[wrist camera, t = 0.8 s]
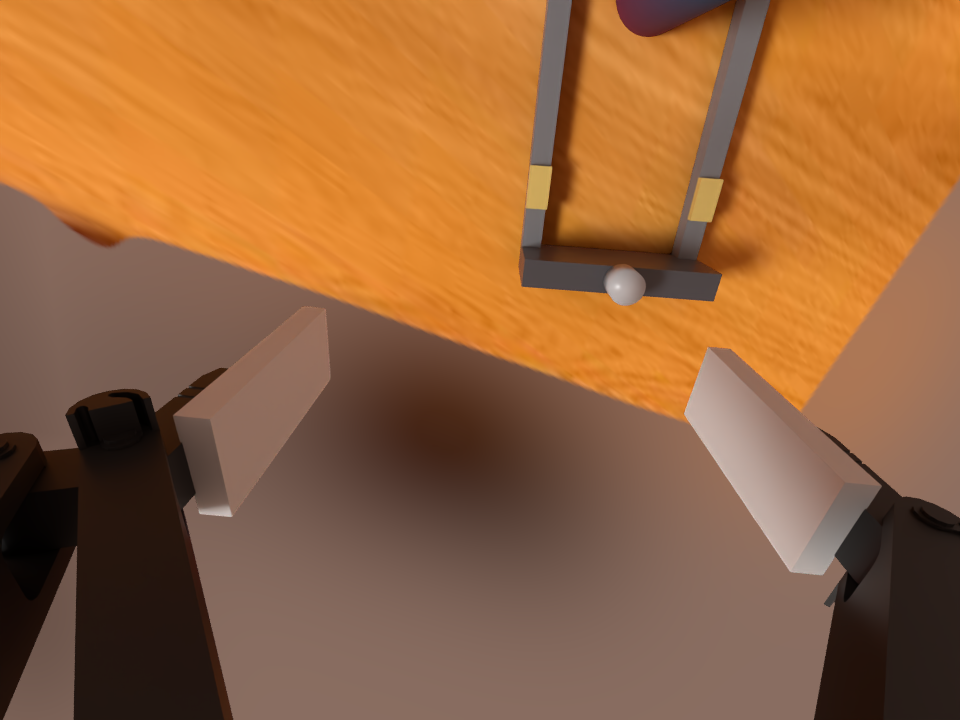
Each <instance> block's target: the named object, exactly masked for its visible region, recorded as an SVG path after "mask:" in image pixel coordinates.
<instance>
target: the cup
mask: <svg viewBox="0 0 960 720" xmlns="http://www.w3.org/2000/svg"><path fill="white" fill-rule="evenodd" d="M728 1H730V0H616V5H617V10H618V13H619V16H620V19H621V20H622V22H623V23H624V25H625V26H626V27H627V28H628V29H629V30H630V31H631V32H633V33H635V34H637V35H640V36H645V37H651V36H657V35H660V34H662V33H664V32H666V31H669V30H671V29H673V28H675V27H677V26H679V25H681V24H683V23H685V22H687V21H689V20H691V19H693V18H695V17H697V16H699V15H701V14H703V13H706V12H708V11H710V10H712V9H714V8H716V7H718V6H720V5H722V4H724V3H726V2H728Z"/></svg>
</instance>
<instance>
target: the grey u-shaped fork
mask: <svg viewBox="0 0 960 720" xmlns="http://www.w3.org/2000/svg"><path fill="white" fill-rule="evenodd" d="M769 3H770V0H737V1H736V4H735V8H734V12H733V16H732V20H731V24H730V28H729V32H728V35H727V39H726V43H725V47H724V51H723V55H722V59H721V63H720V67H719V70H718V74H717V78H716V82H715V86H714V90H713V94H712V98H711V101H710V105H709V109H708V113H707V117H706V121H705V125H704V129H703V133H702V136H701V140H700V144H699V148H698V152H697V156H696V160H695V164H694V167H693V171H692V175H691V179H690V183H689V187H688V191H687V195H686V199H685V202H684V206H683V210H682V214H681V218H680V222H679V226H678V230H677V234H676V237H675V241H674V245H673V249H672V253H671V254H660V253H647V252H634V251H621V250H608V249H595V248H582V247H569V246H556V245H543V244H541V241H542V233H543V225H544V217H545V210H547V206H548V198H549V190H550V182H551V174H552V166H551V162H552V154H553V146H554V138H555V130H556V122H557V114H558V106H559V99H560V91H561V83H562V75H563V67H564V59H565V51H566V43H567V35H568V27H569V19H570V11H571V4H572V0H547V5H546V15H545V24H544V34H543V43H542V52H541V62H540V71H539V80H538V90H537V99H536V109H535V118H534V127H533V137H532V146H531V156H530V165H529V174H528V184H527V193H526V203H525V212H524V221H523V231H522V240H521V249H520V259H519V272H520V279H521V285H522V287H534V288H546V289H559V290H572V291H585V292H598V293H608V294H609V295H610V297H611V298H612V300H613V301H614V302H616V303H617V304H619V305H631V304H634V303H636V302H637V301H639V300H640V299H641V298H642V296H650V297H663V298H676V299H689V300H702V301H714V299H715V295H716V292H717V289H718V286H719V283H720V279H721V276H722V274H720V273H719V272H717V271H715V270H713V269H712V268H710V267H708V266H706V265H705V264H703V263H701V262H699V261H698V260H697V256H698V253H699V249H700V246H701V242H702V239H703V235H704V232H705V228H706V225H707V222H712V219H713V215H714V212H715V209H716V205H717V202H718V198H719V195H720V191H721V188H722V184H723V181H724V180H723V179H720V175H721V172H722V168H723V165H724V161H725V158H726V154H727V151H728V147H729V144H730V140H731V137H732V133H733V130H734V126H735V123H736V119H737V116H738V112H739V109H740V105H741V101H742V98H743V94H744V91H745V87H746V84H747V80H748V77H749V73H750V70H751V66H752V63H753V59H754V56H755V52H756V49H757V45H758V42H759V38H760V35H761V31H762V28H763V24H764V21H765V17H766V14H767V10H768V7H769Z"/></svg>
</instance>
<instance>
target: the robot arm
mask: <svg viewBox="0 0 960 720" xmlns="http://www.w3.org/2000/svg"><path fill="white" fill-rule="evenodd" d="M330 379H331V376H330V362H329V347H328V333H327V320H326V309H325V308H317V307H307V306H303V307H302V308H300V309H299V310H298V311H297V312H296V313H295V314H293V315H292V316H291V317H290V318H289V319H287V320H286V321H285V322H284V323H283V324H281V325H280V326H279V327H278V328H277V329H275V330H274V331H273V332H272V333H271V334H269V335H268V336H267V337H266V338H265V339H264V340H262V341H261V342H260V343H259V344H258V345H256V346H255V347H254V348H253V349H252V350H251V351H249V352H248V353H247V354H246V355H244V356H243V357H242V358H241V359H240V360H239V361H237V362H236V363H235V364H234V365H232V366H231V367H230V368H229V369H226V368H219V369H217V370H215V371H212V372H210V373H208V374H205V375H203V376H201V377H200V378H199V379H197V380H196V381H195V382H193V383H192V384H191V385H190V386H189V388H186V389H185V390H183V391H182V392H181V393H179V394H178V397H175V398H173V399H172V400H171V401H169V402H168V403H167V404H166V405H164V406H163V407H162V408H160V409H159V410H158V411H157V412H154V408H153V405H152V401H151V398H150V396H149V395H148V394H147V393H146V392H144V391H140V390H137V389H120V390H112V391H106V392H103V393H99V394H95V395H92V396H90V397H87V398H85V399H83V400H81V401H79V402H77V403H76V404H75V405H73V406H72V407H70V408H69V410H68V412H67V413H66V415H65V416H66V418H67V421H68V423H69V426H70V428H71V431H72V433H73V436H74V438H75V440H76V443H77V446H78V448H73V449H64V450H53V451H43V450H42V448H41V446H40V444H39V441H38V439H37V438H36V437H35V436H34V435H33V434H28V433H23V432H15V433H3V434H0V720H3V718H4V716H5V713H6V711H7V708H8V706H9V704H10V701H11V699H12V697H13V694H14V692H15V690H16V687H17V685H18V682H19V680H20V678H21V675H22V673H23V670H24V668H25V666H26V663H27V661H28V659H29V656H30V654H31V652H32V649H33V647H34V644H35V642H36V639H37V637H38V634H39V633H40V630H41V628H42V625H43V623H44V621H45V618H46V616H47V613H48V611H49V609H50V606H51V604H52V602H53V599H54V597H55V594H56V592H57V589H58V587H59V585H60V583H61V580H62V578H63V576H64V573H65V571H66V568H67V566H68V564H69V561H70V559H71V557H72V554H73V552H74V549H75V547H76V546H77V587H76V634H75V681H74V720H233V716H232V713H231V708H230V704H229V700H228V695H227V691H226V687H225V682H224V678H223V674H222V670H221V666H220V661H219V657H218V653H217V649H216V645H215V640H214V636H213V632H212V628H211V623H210V619H209V615H208V610H207V607H206V603H205V598H204V594H203V589H202V585H201V581H200V577H199V572H198V568H197V564H196V560H195V555H194V551H193V547H192V543H191V539H190V534H189V530H188V526H187V522H186V518H185V514H184V511H183V507H184V506H185V505H186V504H187V503H188V502H189V500H190V499H191V498H192V497H193V496H194V495H195V499H196V503H197V506H198V510H199V514H208V515H217V516H228V517H232V516H233V515H234V514H235V512H236V511H237V510H238V508H239V507H240V505H241V504H242V502H243V501H244V500H245V498H246V497H247V495H248V494H249V493H250V491H251V490H252V488H253V487H254V486H255V484H256V483H257V481H258V480H259V479H260V477H261V476H262V474H263V473H264V472H265V470H266V469H267V467H268V466H269V465H270V463H271V462H272V460H273V459H274V457H275V456H276V455H277V453H278V452H279V450H280V449H281V448H282V446H283V445H284V444H285V442H286V441H287V439H288V438H289V437H290V435H291V434H292V432H293V431H294V429H295V428H296V427H297V425H298V424H299V422H300V421H301V420H302V418H303V417H304V416H305V414H306V413H307V411H308V410H309V408H310V407H311V406H312V404H313V403H314V401H315V400H316V399H317V397H318V396H319V395H320V393H321V392H322V390H323V389H324V387H325V386H326V385H327V383H328V382H329V381H330ZM684 415H685V416H686V418H687V419H688V421H689V422H690V424H691V425H692V427H693V428H694V430H695V431H696V432H697V434H698V436H699V437H700V439H701V440H702V441H703V443H704V445H705V446H706V447H707V449H708V450H709V452H710V453H711V455H712V456H713V458H714V459H715V461H716V462H717V464H718V465H719V467H720V468H721V470H722V471H723V473H724V474H725V476H726V477H727V479H728V480H729V482H730V483H731V485H732V486H733V488H734V489H735V491H736V492H737V493H738V495H739V496H740V498H741V500H742V501H743V502H744V504H745V505H746V507H747V508H748V510H749V511H750V513H751V514H752V516H753V517H754V519H755V520H756V522H757V523H758V525H759V526H760V528H761V529H762V531H763V532H764V534H765V535H766V537H767V538H768V540H769V541H770V543H771V544H772V546H773V547H774V549H775V550H776V551H777V553H778V554H779V556H780V557H781V559H782V560H783V562H784V563H785V565H786V566H787V568H788V569H789V571H790V572H795V573H805V574H815V575H823V574H824V573H825V571H826V569H827V568H828V566H829V565H830V564H831V562H832V560H833V559H834V557H836V558H837V559H838V560H839V562H840V563H841V564H842V565H843V567H844V568H845V569H846V570H847V571H846V573H845V574H844V576H843V577H842V579H841V580H840V581H839V583H838V584H837V586H836V587H835V589H834V590H833V592H832V593H831V594H830V596H829V597H828V599H827V600H826V601H825V603H824V604H825V605H826V606H828V607H830V606H831V605H832V604H833V602H835V606H834V611H833V617H832V623H831V628H830V634H829V639H828V645H827V650H826V656H825V661H824V667H823V672H822V678H821V683H820V689H819V694H818V700H817V705H816V711H815V717H814V720H960V518H959V517H957V516H956V515H954V514H952V513H951V512H949V511H947V510H945V509H943V508H941V507H939V506H937V505H935V504H933V503H929V502H926V501H924V500H921V499H917V498H911V497H902V496H900V495H899V494H898V493H897V492H896V491H895V490H894V489H892V488H891V487H890V486H889V485H888V484H887V483H886V482H884V481H883V480H882V479H881V478H880V477H879V476H878V475H877V474H876V473H874V472H873V471H872V470H871V469H870V468H869V467H868V466H866V465H865V464H862V461H861V460H860V459H859V458H857V457H856V456H855V455H854V454H853V453H850V450H848V449H847V448H846V447H845V446H844V445H843V444H841V442H839V441H838V440H837V439H836V438H835V437H833V436H831V435H830V434H828V433H826V432H824V431H823V430H821V429H819V428H818V427H816V426H815V425H814V424H813V423H812V422H810V421H809V420H808V419H807V418H806V417H805V416H804V415H803V414H802V413H801V412H800V411H798V410H797V409H796V408H795V407H794V406H793V405H792V404H791V403H790V402H788V401H787V400H786V399H785V398H784V397H783V396H782V395H781V394H780V393H778V392H777V391H776V390H775V389H774V388H773V387H772V386H771V385H770V384H769V383H767V382H766V381H765V380H764V379H763V378H762V377H761V376H760V375H759V374H757V373H756V372H755V371H754V370H753V369H752V368H751V367H750V366H749V365H748V364H746V363H745V362H744V361H743V360H742V359H741V358H740V357H739V356H738V355H736V354H735V353H734V352H733V351H732V350H731V349H724V348H714V347H708V349H707V352H706V354H705V357H704V360H703V363H702V366H701V368H700V371H699V374H698V377H697V379H696V382H695V385H694V388H693V390H692V393H691V396H690V399H689V402H688V404H687V407H686V410H685V413H684Z"/></svg>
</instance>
